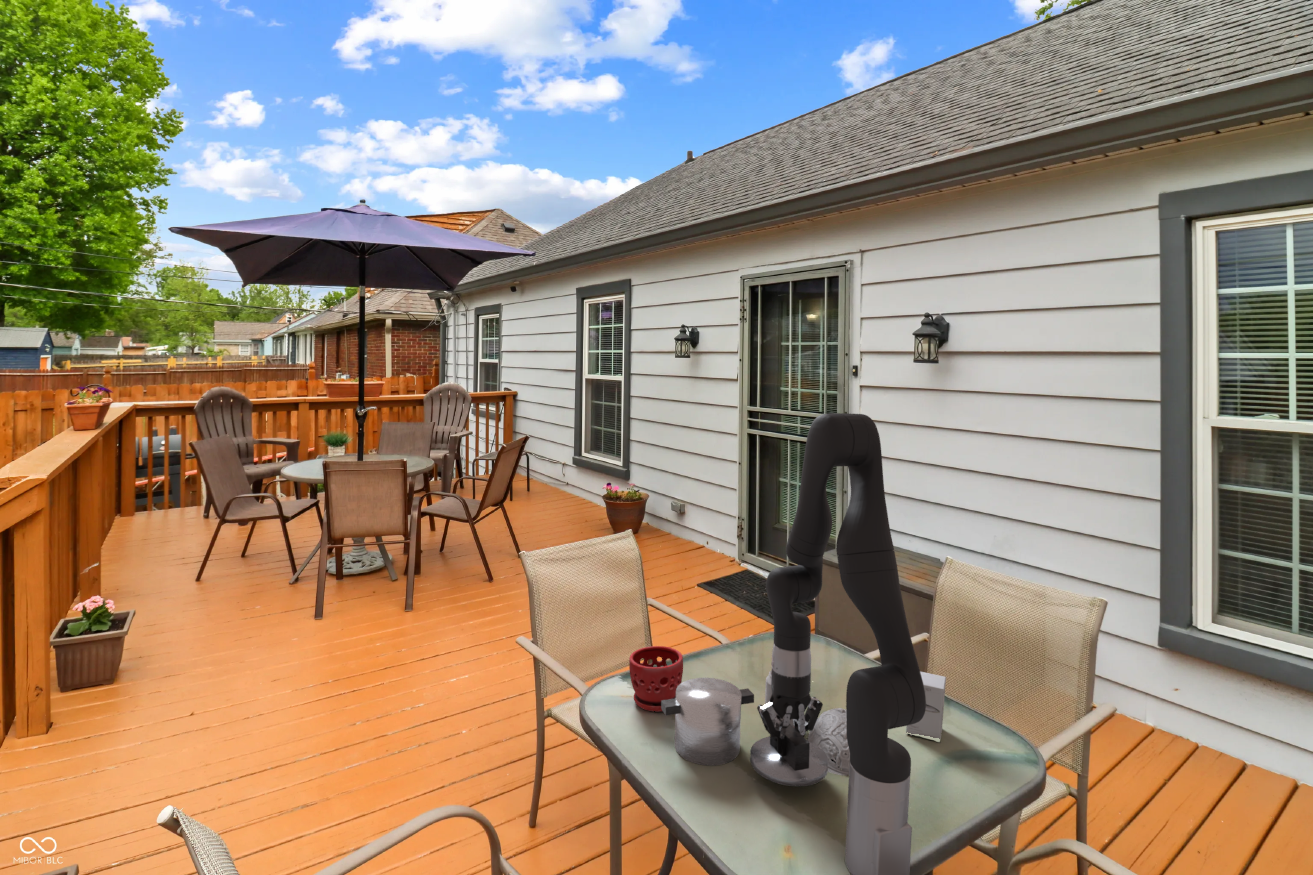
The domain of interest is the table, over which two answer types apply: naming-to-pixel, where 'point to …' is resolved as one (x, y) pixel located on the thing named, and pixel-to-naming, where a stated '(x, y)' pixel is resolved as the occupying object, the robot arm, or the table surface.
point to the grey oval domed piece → (833, 739)
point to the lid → (789, 760)
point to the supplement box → (931, 707)
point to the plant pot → (655, 676)
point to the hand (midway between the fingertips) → (789, 752)
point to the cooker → (707, 719)
